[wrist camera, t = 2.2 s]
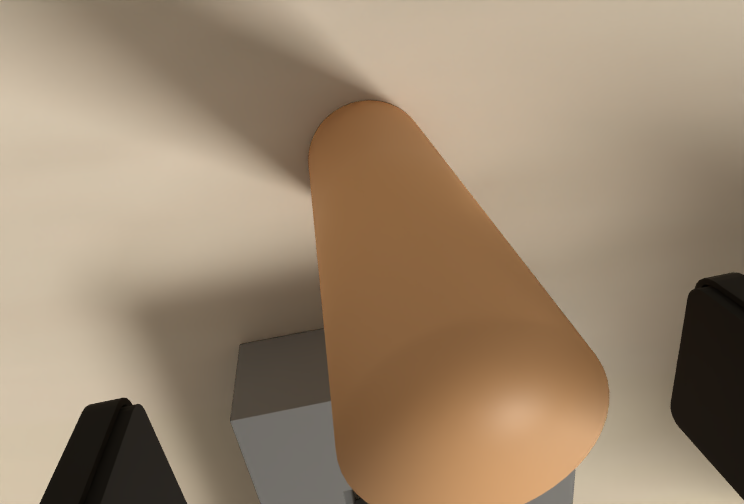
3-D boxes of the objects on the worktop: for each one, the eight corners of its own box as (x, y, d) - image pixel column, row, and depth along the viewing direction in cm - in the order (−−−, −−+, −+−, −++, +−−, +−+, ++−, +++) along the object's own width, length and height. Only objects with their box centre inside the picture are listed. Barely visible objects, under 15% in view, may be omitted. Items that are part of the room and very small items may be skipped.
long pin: (297, 111, 17) (311, 351, 7) (420, 90, 17) (621, 290, 7) (320, 223, 19) (358, 545, 9) (430, 203, 19) (599, 493, 9)
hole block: (240, 344, 21) (230, 420, 18) (536, 287, 22) (584, 350, 18) (312, 566, 28) (315, 651, 25) (532, 518, 29) (565, 595, 25)
